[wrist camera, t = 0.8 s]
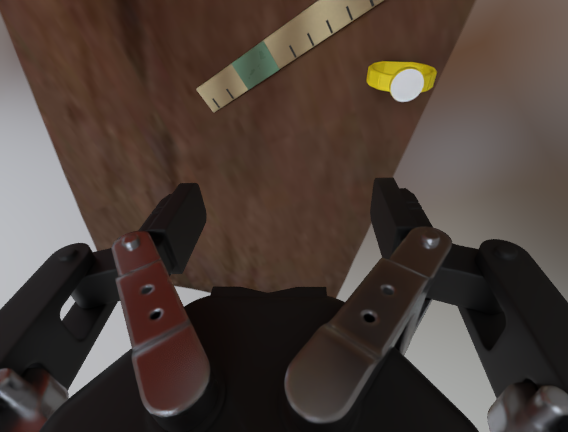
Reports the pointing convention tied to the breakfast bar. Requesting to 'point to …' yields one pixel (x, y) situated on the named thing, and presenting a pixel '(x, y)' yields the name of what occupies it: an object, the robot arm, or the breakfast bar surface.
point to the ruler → (281, 48)
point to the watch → (401, 78)
